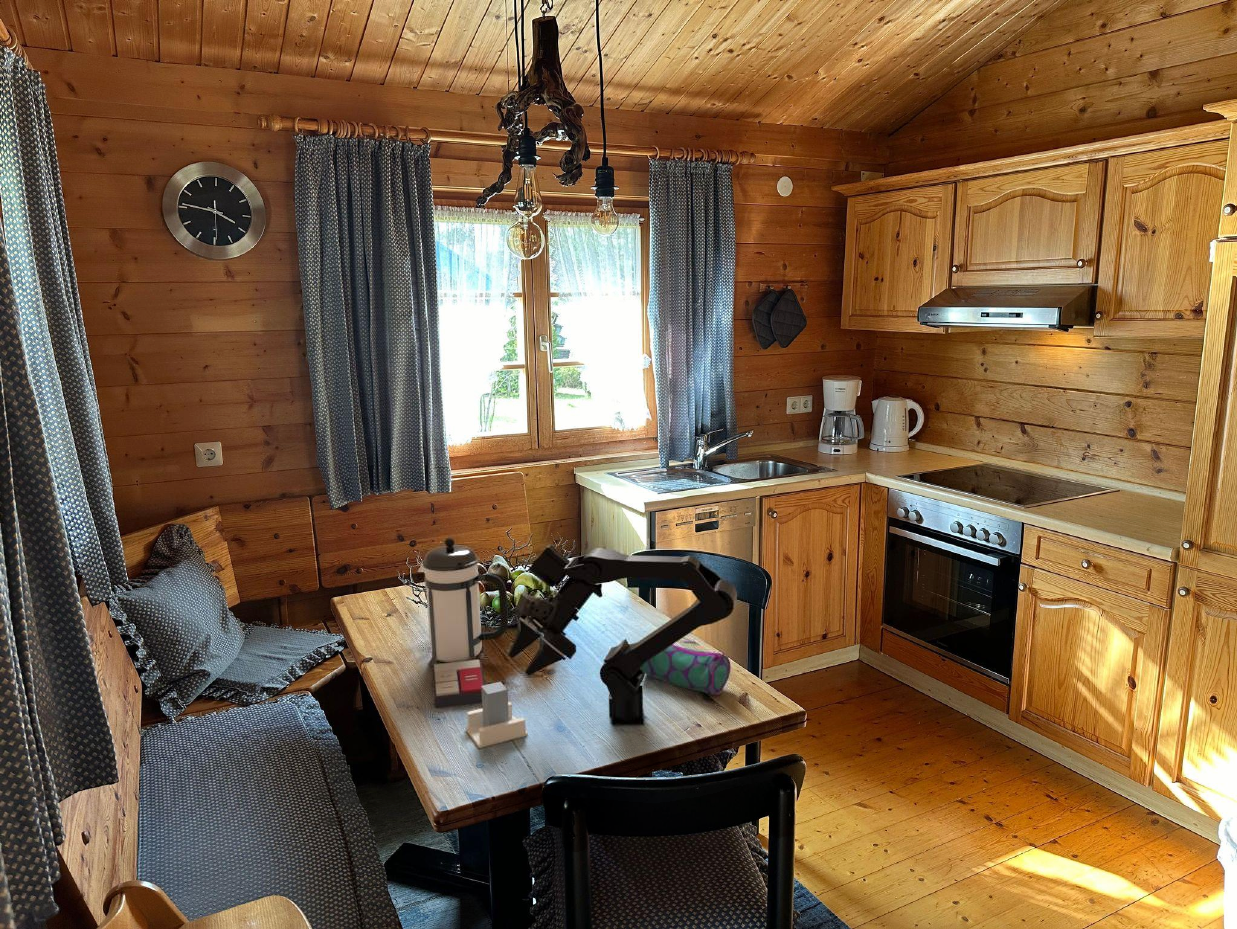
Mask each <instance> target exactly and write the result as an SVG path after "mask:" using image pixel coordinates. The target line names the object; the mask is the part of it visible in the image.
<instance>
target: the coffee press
mask: <svg viewBox="0 0 1237 929" xmlns="http://www.w3.org/2000/svg"><path fill="white" fill-rule="evenodd" d="M455 543H456V542H455V539H454V538H453V537H447V538H446V539H445V540H444V545H441V546H437V547H434V548H433V549H431V550H429V551H428V552H427V553H426V555H425V556H424V559H423V560H422V564H421V565H420V567H419V569H417V572H418V573H424V586H425V590H426V603H427V618H428V619H427V620H428V632H429V633H428V634H429V648H430V649H429V650H430V655H431V658H430V660H429V662H428V667H429V668H430V669H432V666H433V665H436V664H442V662H444V663H453V662H462V661H470V660H477V657H476V656H478V655H479V654H480V653H481V652H483V651H484V648H485V647H484V645H483V644H482V641H488V640H489V641H490V640H491V641H492V640H496V639H499V638H501V637H502V636H503V635H504V634H505V633H506V630H508V629H507V628H508V624H509V610H508V608H509V606H508V594H507V587H506V584H505V583H504V581H503V580H502V578H500V577H499V576H498V575H496V574H493V573H483V574H480V572H479V571H478V564H479V560H480V557H479V555H477V553H476V551H475V550H474V549H473V548H471V547H470V546H467V545H462V544H455ZM479 582H485V583H486V582H487V583H492V584H494V585H495V586H496V588H497V590H498V598H499V618H500V624H499V627H498V628H497V629H496V630H493V631H483V630H482V626H481V609H480V608H481V607H480V606H481V605H480V591H479V590H480V588H479Z"/></svg>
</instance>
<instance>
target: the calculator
mask: <svg viewBox="0 0 1237 929" xmlns="http://www.w3.org/2000/svg"><path fill="white" fill-rule="evenodd" d="M431 670H432V685H433V689H432V690H433V699H434V700H433V704H434V705H433V706H434V709H442V708H450V707H459V706H467V705H468V706H469V705H476V704H482V691H481V686H484V685H486V680H485V674H484V669H483V664H482V660H480V659H476V660H470V661H461V662H444V663H440V664H436V665H434V664H433V666H432V668H431Z"/></svg>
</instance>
